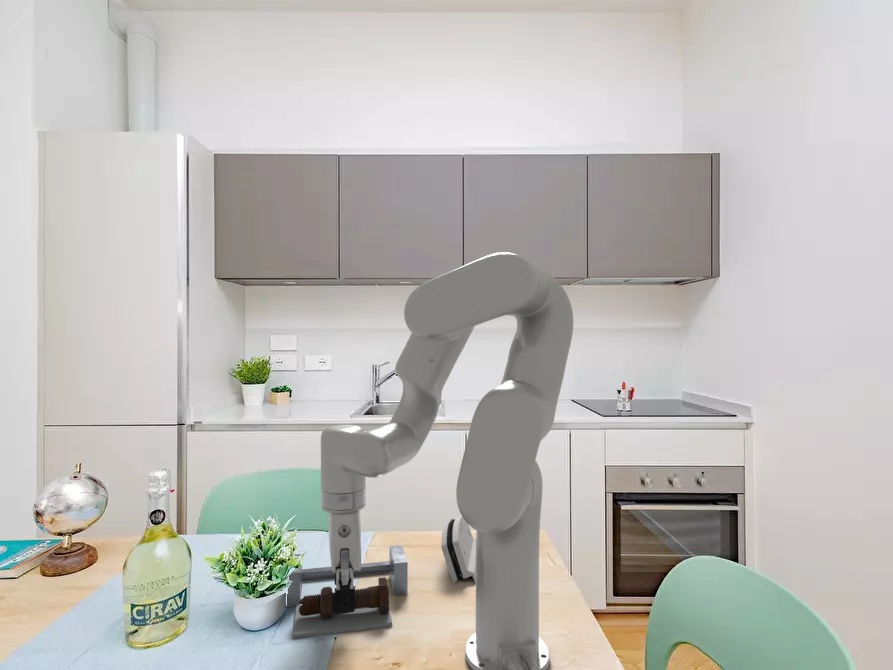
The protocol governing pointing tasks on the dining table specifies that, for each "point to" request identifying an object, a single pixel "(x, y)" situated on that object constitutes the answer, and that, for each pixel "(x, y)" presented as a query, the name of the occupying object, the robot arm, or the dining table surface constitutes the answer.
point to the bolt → (363, 599)
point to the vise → (394, 566)
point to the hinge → (459, 549)
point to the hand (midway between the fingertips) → (344, 597)
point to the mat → (340, 622)
